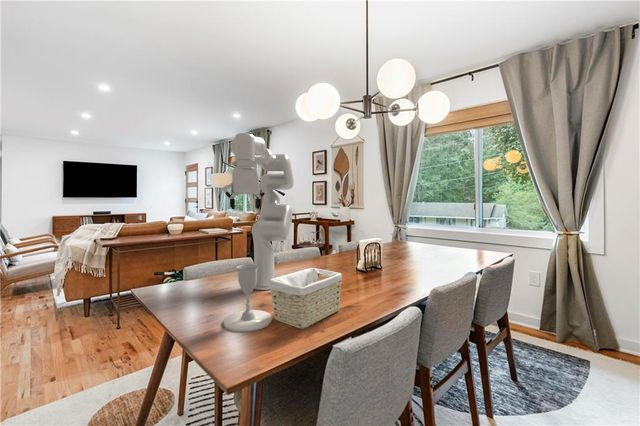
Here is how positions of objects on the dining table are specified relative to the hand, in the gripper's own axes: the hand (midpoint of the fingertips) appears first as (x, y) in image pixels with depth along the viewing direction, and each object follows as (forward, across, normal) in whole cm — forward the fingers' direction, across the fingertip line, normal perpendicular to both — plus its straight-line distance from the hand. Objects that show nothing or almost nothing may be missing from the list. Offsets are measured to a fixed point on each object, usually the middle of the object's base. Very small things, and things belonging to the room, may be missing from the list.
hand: (245, 209), depth 122 cm
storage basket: (+39, +17, -22) cm, 47 cm away
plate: (+38, -4, -18) cm, 43 cm away
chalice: (+37, -4, -18) cm, 42 cm away
